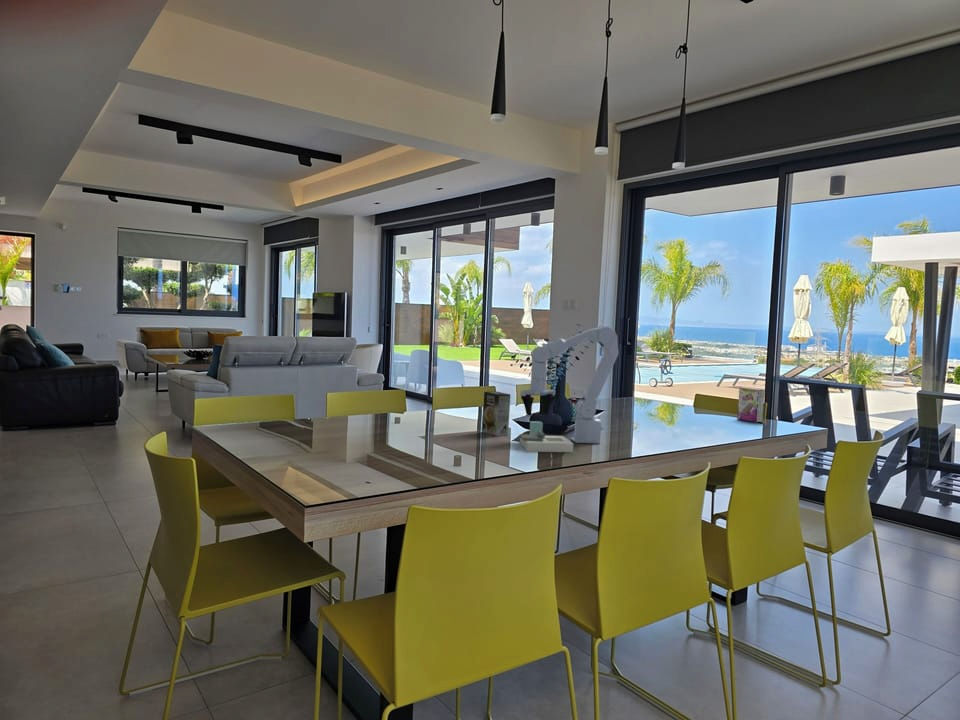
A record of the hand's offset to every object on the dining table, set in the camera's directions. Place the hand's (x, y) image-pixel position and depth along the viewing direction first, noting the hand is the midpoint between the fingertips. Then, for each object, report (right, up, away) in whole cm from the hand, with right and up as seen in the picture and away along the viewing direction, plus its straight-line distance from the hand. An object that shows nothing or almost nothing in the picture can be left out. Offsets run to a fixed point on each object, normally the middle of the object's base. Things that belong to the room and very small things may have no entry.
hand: (536, 414), depth 235 cm
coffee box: (-15, -8, +9) cm, 20 cm away
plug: (0, -9, +1) cm, 9 cm away
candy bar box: (+112, -10, +74) cm, 135 cm away
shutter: (-3, -7, -15) cm, 17 cm away
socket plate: (+2, -10, -14) cm, 18 cm away
